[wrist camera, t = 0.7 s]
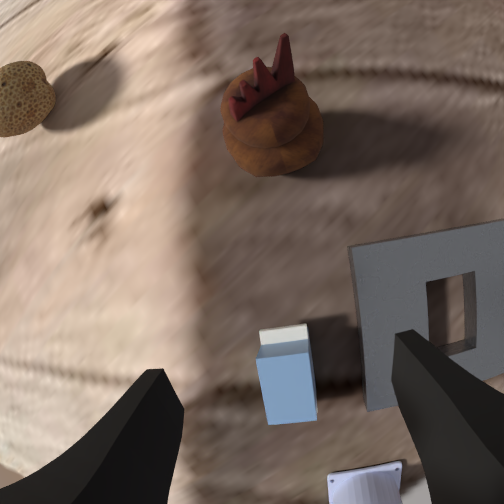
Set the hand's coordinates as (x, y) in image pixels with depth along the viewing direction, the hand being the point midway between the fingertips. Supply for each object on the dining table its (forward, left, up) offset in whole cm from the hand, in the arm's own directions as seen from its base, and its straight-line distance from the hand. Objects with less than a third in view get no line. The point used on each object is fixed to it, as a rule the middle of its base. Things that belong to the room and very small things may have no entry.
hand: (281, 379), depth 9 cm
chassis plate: (-4, -13, -18) cm, 22 cm away
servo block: (-6, +1, -18) cm, 19 cm away
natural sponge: (+25, +25, -18) cm, 40 cm away
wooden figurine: (+12, -1, -18) cm, 21 cm away
